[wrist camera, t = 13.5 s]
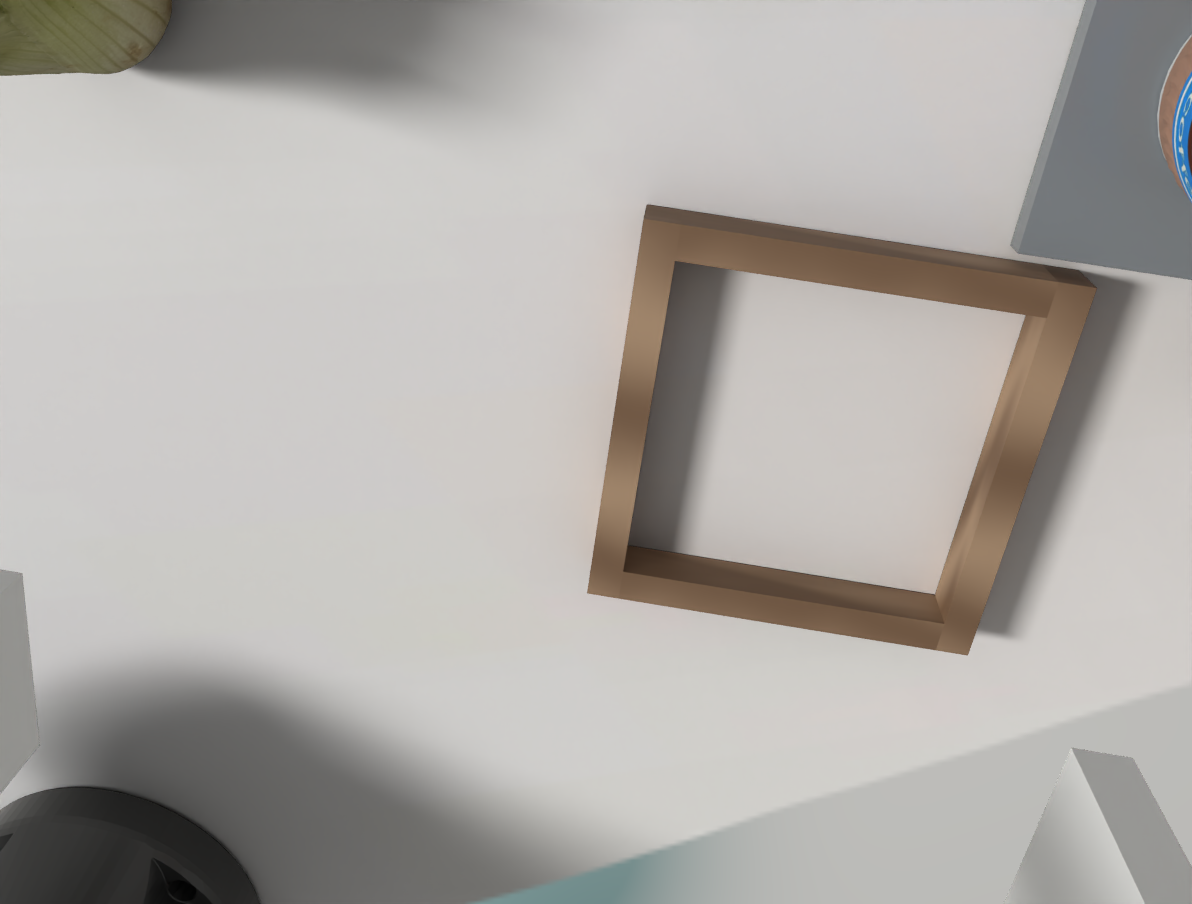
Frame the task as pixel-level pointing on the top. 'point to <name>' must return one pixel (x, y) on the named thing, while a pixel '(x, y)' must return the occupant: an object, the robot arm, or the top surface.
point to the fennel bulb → (79, 35)
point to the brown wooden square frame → (866, 264)
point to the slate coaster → (1112, 148)
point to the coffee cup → (1178, 118)
